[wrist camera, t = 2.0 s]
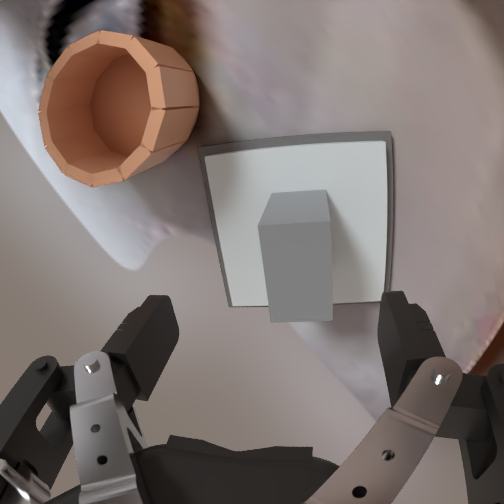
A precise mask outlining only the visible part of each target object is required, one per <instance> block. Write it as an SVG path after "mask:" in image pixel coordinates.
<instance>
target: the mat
mask: <svg viewBox="0 0 504 504" xmlns="http://www.w3.org/2000/svg"><path fill="white" fill-rule="evenodd" d="M356 141H384V142H386V163H387V244H386V265H385V281H384V292H389V284H390V271H391V256H392V234H393V160H392V139H391V132H390V131H373V132H343V133H324V134H309V135H297V136H285V137H275V138H265V139H256V140H248V141H240V142H232V143H225V144H218V145H211V146H205V147H200V148H198V150H199V156H200V162H201V167H202V173H203V179H204V184H205V190H206V195H207V200H208V206H209V211H210V216H211V221H212V227H213V232H214V237H215V242H216V247H217V252H218V257H219V262H220V267H221V272H222V277H223V281H224V286H225V291H226V296H227V301H228V305H229V307H269V306H232V301H231V296H230V291H229V286H228V281H227V276H226V271H225V266H224V261H223V256H222V250H221V245H220V240H219V235H218V229H217V224H216V219H215V213H214V208H213V203H212V197H211V191H210V186H209V180H208V175H207V169H206V163H205V156H207V155H212V154H219V153H227V152H234V151H242V150H251V149H260V148H269V147H280V146H291V145H303V144H317V143H334V142H356ZM373 302H381V301H373ZM355 303H372V302H355ZM355 303H335V304H355ZM335 304H333V305H335Z"/></svg>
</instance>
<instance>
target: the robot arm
mask: <svg viewBox="0 0 504 504" xmlns="http://www.w3.org/2000/svg"><path fill="white" fill-rule="evenodd" d="M178 338H179V327H178V324H177V320H176V317H175V313H174V310H173V306H172V303H171V299H170V298H169V296H167V295H150V296H148V297H147V299H146V300H145V301H144V303H143V304H142V305H141V306H140V307H137V308H136V309H135V310H133V311H132V312H130V313H129V314H128V315H127V317H126V318H125V319H124V320H123V322H122V324H120V326H119V327H118V328H117V330H116V331H115V332H114V333H113V335H112V336H111V338H110V339H109V340H108V342H107V343H106V344H105V346H104V347H103V348H102V350H101V351H94V352H90V353H87V354H85V355H84V356H82V357H81V358H79V360H77V362H76V363H75V365H74V366H62V367H60V365H59V363H58V362H57V360H56V358H55V357H53V356H43V357H40V358H38V359H36V360H35V361H34V362H32V363H31V365H30V366H29V367H28V368H27V370H26V371H25V372H24V373H23V375H22V376H21V377H20V379H19V380H18V381H17V383H16V384H15V385H14V387H13V388H12V389H11V391H10V392H9V394H8V395H7V396H6V398H5V399H4V401H3V402H2V403H1V405H0V504H391V503H392V502H393V501H394V499H395V498H396V496H397V495H398V494H399V492H400V491H401V489H402V488H403V486H404V485H405V483H406V482H407V481H408V479H409V478H410V476H411V474H412V473H413V471H414V470H415V468H416V467H417V465H418V463H419V462H420V460H421V459H422V457H423V455H424V454H425V452H426V450H427V449H428V447H429V445H430V443H431V442H432V440H433V438H434V436H436V437H444V438H453V439H459V444H460V450H461V455H462V460H463V467H464V472H465V479H466V486H467V495H468V503H469V504H504V364H498V365H495V366H493V367H492V368H491V369H490V370H489V371H488V374H487V375H486V376H481V375H472V374H466V373H462V370H461V368H460V366H459V365H458V364H457V363H456V362H455V361H453V360H451V359H449V358H446V356H445V354H444V352H443V349H442V347H441V345H440V342H439V340H438V338H437V335H436V333H435V331H433V327H432V324H431V323H430V320H429V318H428V316H427V314H426V311H424V310H423V309H422V308H421V307H420V306H419V305H417V304H409V303H408V301H407V299H406V296H405V294H404V292H403V291H391V292H383V293H382V296H381V305H380V313H379V321H378V344H379V348H380V353H381V357H382V362H383V366H384V371H385V376H386V381H387V386H388V391H389V397H390V402H391V408H390V407H389V408H388V409H386V411H385V412H384V413H383V414H382V416H381V417H380V418H379V420H378V421H377V422H376V424H375V425H374V426H373V427H372V429H371V430H370V431H369V433H368V434H367V435H366V436H365V438H364V439H363V440H362V441H361V442H360V444H359V445H358V446H357V447H356V448H355V450H354V451H353V452H352V453H351V455H349V457H348V458H347V459H346V460H345V461H344V462H343V464H342V465H341V466H338V465H336V464H334V463H332V462H330V461H327V460H324V459H321V458H317V457H313V456H312V450H313V447H281V446H279V447H278V446H275V447H269V448H262V449H255V450H247V451H232V450H229V449H226V448H223V447H220V446H217V445H215V444H212V443H208V442H206V441H204V440H199V439H192V438H186V437H179V436H174V435H170V437H169V439H168V442H167V444H162V445H155V446H152V447H149V446H148V444H147V442H146V439H145V436H144V433H143V430H142V427H141V424H140V421H139V418H138V415H137V412H136V409H135V407H134V405H133V403H134V401H135V400H136V399H138V400H144V401H148V399H149V397H150V395H151V393H152V391H153V389H154V387H155V385H156V383H157V381H158V379H159V377H160V375H161V373H162V371H163V369H164V367H165V365H166V363H167V362H168V360H169V358H170V355H171V354H172V352H173V350H174V348H175V346H176V344H177V342H178ZM46 403H47V405H48V406H49V407H50V408H51V410H52V412H51V414H50V415H49V417H48V419H47V420H46V422H45V424H44V425H43V427H42V429H41V430H40V432H39V431H38V429H37V427H36V418H37V416H38V414H39V413H40V411H41V410H42V408H43V406H44V405H45V404H46ZM73 443H74V450H75V457H76V463H77V469H78V474H79V480H80V485H78V486H76V487H74V488H72V489H70V490H68V491H67V492H64V493H63V494H61V495H59V496H57V497H55V498H53V499H50V497H51V494H50V490H51V488H52V486H53V484H54V481H55V479H56V477H57V475H58V473H59V471H60V469H61V467H62V465H63V463H64V461H65V459H66V457H67V455H68V453H69V451H70V449H71V447H72V445H73Z"/></svg>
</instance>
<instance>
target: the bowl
mask: <svg viewBox="0 0 504 504" xmlns="http://www.w3.org/2000/svg"><path fill="white" fill-rule="evenodd" d="M47 75H48V77H46V79H45V83H44V87H43V91H42V96H41V101H40V106H39V111H41V112H40V113H38V114H39V120H40V126H41V131H42V137H43V142H44V146H46V145H47V146H46V148H45V149H46V150H47V152H48V153H49V155H50V156H51V157H52V159H53V160H54V162H55V163H56V165H57V166H58V167H59V169H60V170H61V172H62V173H65V175H66V176H68V177H70V178H72V179H74V180H77V181H79V182H81V183H83V184H85V185H88V186H90V187H92V186H93V187H97V186H102V185H107V184H112V183H117V182H122V181H125V180H127V179H129V178H131V177H133V176H135V175H137V174H139V173H141V172H143V171H145V170H147V169H149V168H151V167H153V166H156V165H158V164H160V163H162V162H164V161H165V160H166V159H167V158H168V157H169V156H171V155H172V154H173V153H175V152H176V151H177V150H178V149H179V148H180V147H181V146H182V145H183V144H184V143H185V142H186V140H187V139H188V137H189V136H190V134H191V132H192V130H193V128H194V126H195V123H196V120H197V117H198V112H199V106H200V94H199V87H198V82H197V79H196V76H195V74H194V72H193V70H192V68H191V66H190V65H189V64H188V62H187V61H186V60H185V59H184V58H183V57H182V56H181V55H180V54H179V53H177V52H176V51H175V49H174V48H172V47H169V46H166V45H163V44H160V43H157V42H153V41H150V40H147V39H143V38H140V37H136V36H133V35H127V34H122V33H116V32H110V31H103V30H101V31H96V32H94V33H92V34H90V35H88V36H86V37H84V38H82V39H80V40H78V41H76V42H74V43H72V44H70V45H69V47H67V48H66V49H65V50H64V51H63V53H62V54H61V56H60V57H59V58H58V60H57V61H56V62H55V64H54V65H53V67H52V68H51V69H50V71H49V72H48V74H47Z"/></svg>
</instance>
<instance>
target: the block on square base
mask: <svg viewBox="0 0 504 504" xmlns="http://www.w3.org/2000/svg"><path fill="white" fill-rule="evenodd" d="M205 163H206V169H207V175H208V180H209V186H210V191H211V197H212V203H213V208H214V213H215V219H216V224H217V229H218V235H219V240H220V245H221V250H222V256H223V261H224V266H225V271H226V276H227V281H228V286H229V291H230V296H231V301H232V306H269V312H270V320H271V322H306V321H333V304H335V303H355V302H373V301H381V296H382V293H383V292H384V281H385V265H386V244H387V163H386V142H384V141H356V142H334V143H317V144H303V145H291V146H280V147H269V148H260V149H251V150H242V151H234V152H227V153H219V154H212V155H207V156H205Z"/></svg>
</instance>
